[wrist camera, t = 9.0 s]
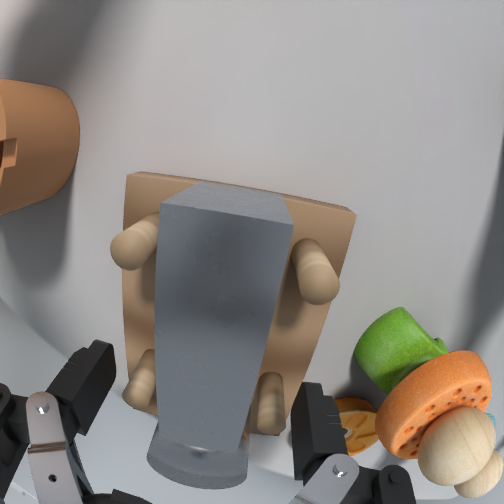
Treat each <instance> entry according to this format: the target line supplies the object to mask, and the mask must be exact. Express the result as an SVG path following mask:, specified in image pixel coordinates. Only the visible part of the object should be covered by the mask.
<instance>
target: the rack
mask: <svg viewBox="0 0 504 504" xmlns="http://www.w3.org/2000/svg"><path fill="white" fill-rule="evenodd" d="M200 181H203V182H210V183H217V184H223V185H229V186H235V187H241V188H247V189H253V190H259V191H264V192H270V193H275V194H281V193H276V192H271V191H266V190H260V189H255V188H249V187H244V186H238V185H232V184H226V183H220V182H213V181H207V180H200V179H194V178H187V177H180V176H172V175H165V174H157V173H149V172H137V173H133V174H129V175H127V180H126V191H125V204H124V220H123V232H121V233H120V234H118V235H117V236H116V237H115V238H114V239H113V240H112V242H111V246H110V252H111V256H112V258H113V260H114V262H115V263H116V264H117V265H118V266H119V267H120V268H122V290H123V317H124V334H125V347H126V358H127V368H128V376H129V382H128V384H127V386H126V388H125V390H124V392H123V394H122V397H123V399H124V401H125V402H126V403H127V404H128V405H130V406H131V407H133V409H137V410H140V411H143V412H147V413H151V414H154V415H158V409H157V394H156V374H155V276H156V255H157V239H158V226H159V214H160V203H161V202H162V201H164V200H166V199H168V198H170V197H172V196H173V195H175V194H177V193H179V192H181V191H183V190H185V189H187V188H189V187H190V186H192V185H194V184H196V183H198V182H200ZM281 195H282V196H283V199H284V201H285V204H286V206H287V208H288V211H289V213H290V216H291V218H292V221H293V223H294V229H293V233H292V238H291V243H290V247H289V252H288V256H287V260H286V265H285V269H284V273H283V278H282V282H281V286H280V291H279V295H278V299H277V303H276V307H275V311H274V316H273V320H272V324H271V328H270V332H269V336H268V340H267V344H266V348H265V351H264V355H263V359H262V363H261V367H260V371H259V374H258V378H257V382H256V386H255V389H254V393H253V397H252V400H251V414H250V432H249V433H253V434H262V435H273V436H279V435H280V433H281V432H282V431H283V430H284V429H285V428H286V419H287V417H288V415H289V412H290V410H291V408H292V405H293V402H294V400H295V397H296V395H297V393H298V390H299V388H300V385H301V383H302V381H303V379H304V376H305V374H306V371H307V369H308V366H309V363H310V361H311V358H312V356H313V353H314V350H315V347H316V345H317V342H318V339H319V336H320V334H321V331H322V328H323V325H324V322H325V319H326V316H327V313H328V310H329V307H330V304H331V301H332V300H333V299H334V298H335V297H336V295H337V294H338V292H339V288H340V283H339V276H340V273H341V269H342V266H343V263H344V259H345V256H346V252H347V249H348V245H349V242H350V238H351V234H352V231H353V227H354V223H355V219H356V214H355V213H353V212H352V211H351V210H349V209H348V208H347V207H343V206H338V205H334V204H329V203H325V202H320V201H316V200H311V199H306V198H301V197H297V196H292V195H287V194H281Z"/></svg>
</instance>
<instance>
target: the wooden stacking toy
mask: <svg viewBox="0 0 504 504" xmlns="http://www.w3.org/2000/svg"><path fill="white" fill-rule="evenodd" d="M354 356H355V358H356V360H357V362H358V363H359V365H360V366H361V368H362V369H363V370H364V372H365V373H366V374H367V376H368V377H369V378H370V379H371V380H372V381H373V382H374V383H375V384H376V385H377V386H378V387H379V388H380V389H382V390H383V391H384V392H386V393H387V394H388V395H387V397H386V398H385V399H384V401H383V403H382V404H381V406H380V408H379V410H378V412H377V410H376V409H375V408H374V407H373V406H372V404H371V403H369V402H368V401H366V400H363V399H359V398H341V399H336V400H334V401H335V403H336V404H337V406H338V410H339V414H340V415H339V417H340V419H341V425H342V428H343V432H344V437H345V441H346V446H347V450H348V454H349V456H353V455H355V454H358V453H360V452H362V451H364V450H365V449H367V448H369V447H370V446H371V445H373V444H374V443H375V442H376V441H377V440H378V439H379V440H380V441H381V443H382V444H383V446H384V447H385V448H386V449H387V450H388V451H389V452H390V453H391V454H393V455H394V456H396V457H398V458H402V459H417V458H418V464H419V467H420V470H421V472H422V473H423V475H424V476H425V477H426V478H427V479H428V480H429V481H431V482H433V483H435V484H438V485H442V486H452V485H454V488H455V490H456V491H457V493H458V494H459V495H461V496H463V497H465V498H476V497H480V496H482V495H484V494H486V493H487V492H489V491H490V490H491V489H492V488H493V487H494V486H495V485H496V484H497V482H498V481H499V479H500V477H501V475H502V471H503V459H502V457H501V455H500V454H499V453H498V452H497V451H496V450H494V446H495V441H496V428H495V419H494V416H493V415H491V414H486V413H484V411H485V410H486V408H487V406H488V404H489V401H490V398H491V394H492V384H491V379H490V376H489V373H488V370H487V368H486V366H485V364H484V363H483V361H482V360H481V358H480V357H479V356H478V355H477V354H476V353H474V352H472V351H467V350H462V351H454V352H449V353H448V350H447V348H446V346H445V344H444V343H443V341H442V340H441V339H440V338H437V339H436V340H434V339H432V338H431V337H430V336H429V335H428V334H427V333H426V332H425V331H424V330H423V329H422V328H421V327H420V325H419V324H418V323H417V322H416V321H415V320H414V318H413V317H412V316H411V315H410V314H409V313H408V312H407V311H406V310H405V309H404V308H403V307H399V308H396V309H393V310H391V311H389V312H387V313H386V314H384V315H383V316H381V317H380V318H379V319H377V320H376V321H375V322H374V323H373V324H372V325H371V326H370V327H369V328H368V329H367V330H366V331H365V332H364V334H363V335H362V336H361V338H360V339H359V341H358V343H357V345H356V347H355V350H354Z"/></svg>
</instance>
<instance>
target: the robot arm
mask: <svg viewBox="0 0 504 504" xmlns="http://www.w3.org/2000/svg"><path fill="white" fill-rule="evenodd" d="M115 378H116V363H115V356H114V348H113V345H112V344H110V343H106V342H103V341H100V340H94V341H93V343H92V344H91V345H90V347H89V348H88V349H87V348H84V347H83V348H81V349H80V350H78V351H76V352H75V353H74V354H73V355H72V356H71V358H70V359H69V360H68V362H67V363H66V364H65V366H64V368H62V370H61V371H60V372H59V374H58V375H57V376H56V378H55V379H54V380H53V382H52V383H51V384H50V386H49V387H48V389H47V390H46V391H45V392H37V393H34V394H32V395H31V396H30V397H23V396H18V395H13V394H11V392H10V390H9V388H8V387H7V386H6V385H4V384H2V383H0V504H5V502H4V500H3V499H4V497H5V495H6V493H7V490H8V488H9V486H10V483H11V481H12V479H13V477H14V474H15V472H16V470H17V468H18V466H19V464H20V461H21V459H22V457H23V455H24V453H25V451H26V449H27V447H28V445H29V444H31V448H28V458H29V464H30V469H31V473H32V477H33V482H34V486H35V490H36V494H37V497H38V501H39V504H152V503H150V502H148V501H146V500H144V499H142V498H140V497H137V496H134V495H131V494H127V493H124V492H121V491H119V490H116V489H113V492H112V494H103V493H102V494H94V492H93V490H92V488H91V486H90V484H89V482H88V479H87V477H86V475H85V472H84V469H83V466H82V463H81V460H80V457H79V454H78V451H77V447H76V443H75V440H74V437H75V436H76V433H79V434H82V435H84V436H86V434H87V432H88V430H89V428H90V426H91V424H92V422H93V420H94V418H95V416H96V415H97V412H98V411H99V409H100V407H101V405H102V403H103V401H104V400H105V397H106V396H107V394H108V392H109V390H110V388H111V387H112V385H113V383H114V381H115ZM339 415H340V414H339V410H338V406H337V404H336V403H335V401H334V400H333V398H332V397H331V396H324V395H323V390H322V386H321V384H320V383H310V382H302V383H301V385H300V388H299V390H298V393H297V395H296V397H295V400H294V402H293V405H292V408H291V431H292V446H293V461H294V477H295V480H303V485H304V487H303V489H302V490H301V491H300V492H299V493H298V494H297V495H296V496H295V498H294V499H293V500H292V501H291V502H290V503H289V504H416V500H415V496H414V492H413V487H412V483H411V479H410V476H409V474H408V472H407V471H406V470H405V469H404V468H403V467H401V466H398V465H389V466H386V467H384V468H383V469H382V470H381V471H380V470H374V469H369V468H365V467H361V466H359V465H358V464H357V462H356V461H355V460H354V459H353V458H352V457H350V456H349V454H348V450H347V446H346V441H345V437H344V432H343V428H342V425H341V419H340V417H339Z"/></svg>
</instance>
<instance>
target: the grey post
mask: <svg viewBox="0 0 504 504" xmlns="http://www.w3.org/2000/svg"><path fill="white" fill-rule="evenodd" d="M293 229H294V223H293V221H292V218H291V216H290V213H289V211H288V208H287V206H286V204H285V201H284V199H283V196H282V195H281V194H275V193H270V192H264V191H259V190H253V189H247V188H241V187H235V186H229V185H223V184H217V183H210V182H203V181H200V182H198V183H196V184H194V185H192V186H190V187H189V188H187V189H185V190H183V191H181V192H179V193H177V194H175V195H173V196H172V197H170V198H168V199H166V200H164V201H162V202H161V203H160V214H159V226H158V239H157V255H156V276H155V374H156V394H157V409H158V424H157V426H156V429H155V432H154V435H153V438H152V441H151V444H150V447H149V450H148V453H147V461H148V463H149V464H150V466H151V467H152V468H153V469H154V470H155V471H157V472H158V473H159V474H161V475H163V476H164V477H166V478H168V479H170V480H172V481H175V482H177V483H180V484H183V485H187V486H191V487H195V488H202V489H224V488H230V487H234V486H237V485H239V484H241V483H242V482H244V480H245V479H246V477H247V467H248V450H249V432H250V414H251V400H252V397H253V393H254V389H255V386H256V382H257V378H258V374H259V371H260V367H261V363H262V359H263V355H264V351H265V348H266V344H267V340H268V336H269V332H270V328H271V324H272V320H273V316H274V311H275V307H276V303H277V299H278V295H279V291H280V286H281V282H282V278H283V273H284V269H285V265H286V260H287V256H288V252H289V247H290V243H291V238H292V233H293Z"/></svg>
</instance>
